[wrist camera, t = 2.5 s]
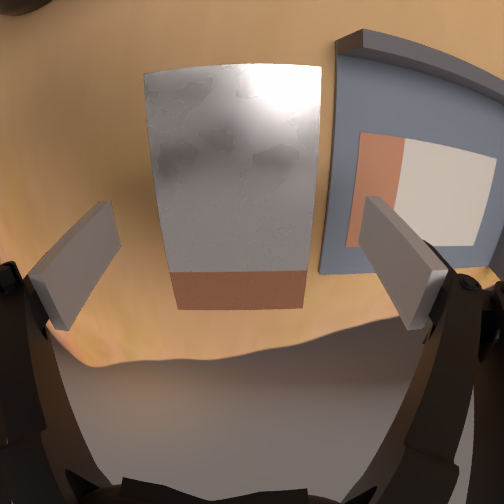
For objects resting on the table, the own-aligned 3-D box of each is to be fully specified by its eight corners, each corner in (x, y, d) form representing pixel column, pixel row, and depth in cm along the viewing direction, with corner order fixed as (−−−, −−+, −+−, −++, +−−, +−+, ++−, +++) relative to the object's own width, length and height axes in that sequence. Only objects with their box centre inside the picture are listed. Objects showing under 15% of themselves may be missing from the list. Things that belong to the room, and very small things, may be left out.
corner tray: (335, 40, 16) (363, 28, 11) (529, 108, 16) (564, 122, 11) (318, 271, 26) (331, 312, 22) (491, 263, 27) (515, 290, 22)
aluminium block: (181, 77, 17) (143, 74, 11) (294, 74, 17) (321, 66, 11) (195, 245, 25) (177, 309, 18) (288, 243, 25) (302, 308, 18)
